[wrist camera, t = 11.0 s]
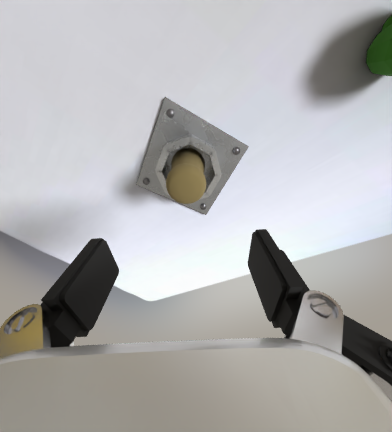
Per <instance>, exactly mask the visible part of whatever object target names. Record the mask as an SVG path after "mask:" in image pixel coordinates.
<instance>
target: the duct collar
mask: <svg viewBox="0 0 392 432" xmlns="http://www.w3.org/2000/svg"><path fill="white" fill-rule="evenodd" d="M248 147H249V146H247V145H245V144H244V143H242V142H240V141H238V140H237V139H235V138H233V137H232V136H230V135H228V134H227V133H225V132H223V131H222V130H220V129H218V128H217V127H215V126H213V125H211V124H210V123H208V122H206V121H205V120H203V119H201V118H200V117H198V116H196V115H195V114H193V113H191V112H190V111H188V110H186V109H185V108H183V107H181V106H179V105H178V104H176V103H174V102H173V101H171V100H169V99H168V98H166V97H165V99H164V102H163V105H162V108H161V111H160V114H159V117H158V120H157V123H156V126H155V129H154V132H153V135H152V138H151V141H150V144H149V147H148V150H147V153H146V157H145V160H144V163H143V166H142V169H141V172H140V175H139V178H138V181H137V184H136V185H138V186H140V187H143V188H145V189H147V190H150V191H152V192H154V193H157V194H159V195H161V196H164V197H166V198H168V199H171V200H173V201H175V200H174V199H172V198H171V196H170V195H169V194H168V191H167V188H166V179H167V176H168V173H169V172H170V171H171V161H172V158H173V156H174V155H175V153H176V152H177V151H179V150H180V149H183V148H193V149H195V150H197V151H198V152H199V153H200V154H201V155H202V156H203V158H204V161H205V170H204V176H205V179H206V190H205V192H204V194H203V196H202V197H201V198H200V199H199V200H198V201H196V202H194V203H191V204H182V205H184V206H187V207H189V208H191V209H194V210H196V211H198V212H201V213H203V214H205V215H206V214H207V213H208V211H209V209H210V208H211V206H212V205H213V203H214V201H215V200H216V198H217V196H218V195H219V193H220V192H221V190H222V188H223V187H224V185H225V184H226V182H227V180H228V179H229V177H230V176H231V174H232V172H233V171H234V169H235V168H236V166H237V164H238V163H239V161H240V160H241V158H242V156H243V155H244V153H245V152H246V150H247V148H248ZM175 202H176V201H175ZM177 203H179V202H177ZM180 204H181V203H180Z"/></svg>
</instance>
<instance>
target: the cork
mask: <svg viewBox="0 0 392 432" xmlns="http://www.w3.org/2000/svg"><path fill="white" fill-rule="evenodd" d="M204 170H205V161H204V158H203V156H202V155H201V154H200V153H199V152H198V151H197V150H195V149H193V148H183V149H180V150H179V151H177V152H176V153H175V155H174V156H173V158H172V161H171V171H170V172H169V173H168V176H167V179H166V188H167V191H168V194H169V195H170V196H171V198H172V199H174V200H175V201H176V202H179V203H181V204H191V203H194V202H196V201H198V200H199V199H200V198H201V197H202V196H203V194H204V192H205V190H206V179H205V176H204Z"/></svg>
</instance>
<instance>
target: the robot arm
mask: <svg viewBox="0 0 392 432" xmlns="http://www.w3.org/2000/svg"><path fill="white" fill-rule="evenodd" d="M248 267H249V270H250V273H251V275H252V278H253V281H254V283H255V286H256V288H257V291H258V294H259V297H260V299H261V302H262V305H263V308H264V310H265V313H266V316H267V318H268V320H269V321H270V322H271V321H272V323H273V326H274V328H279V327H280V328H281V329H282V331H283V333H284V334H285V337H284V338H247V339H246V338H244V339H216V340H191V341H170V342H169V341H168V342H146V343H125V344H106V345H86V346H74V343H73V341H74V339H75V337H86V336H87V335H88V332H89V331H90V330H91V329H92V328H93V327H94V325H95V323H96V321H97V319H98V316H99V314H100V312H101V310H102V308H103V306H104V303H105V302H106V299H107V297H108V295H109V293H110V291H111V289H112V287H113V285H114V282H115V280H116V278H117V276H118V274H119V269H118V266H117V264H116V262H115V260H114V257H113V255H112V253H111V251H110V249H109V246H108V244H107V242H106V241H105V240H103V239H102V238H99V239H91V240H90V241H89V242H88V244H87V245H86V246H85V247H84V248H83V250H82V251H81V252H80V253H79V254H78V256H77V257H76V258H75V259H74V261H73V262H72V263H71V264H70V265H69V267H68V268H67V269H66V270H65V272H64V273H63V274H62V275H61V276H60V278H59V279H58V280H57V281H56V282H55V284H54V285H53V286H52V287H51V288H50V290H49V291H48V292H47V293H46V295H45V296H44V297H43V298H42V301H43V303H42V304H41V305H38V304H32V305H28V306H26V307H23V308H21V309H20V310H18V311H16V312H15V313H14V314H13V315H11V316H10V317H9V318H8V319H7V320H6V321H5V322H4V323H3V325H2V326H1V328H0V432H392V341H390V340H389V339H387V338H385V337H383V336H381V335H380V334H378V333H376V332H374V331H372V330H370V329H369V328H367V327H365V326H363V325H361V324H359V323H358V322H356V321H354V320H352V319H350V318H349V317H347V316H345V315H343V311H342V309H341V307H340V305H339V304H338V303H337V302H336V301H335V300H334V299H333V298H331V297H330V296H328V295H327V294H325V293H322V292H320V291H314V290H312V291H310V290H309V288H308V287H307V285H306V284H305V282H304V281H303V280H302V278H301V277H300V275H299V274H298V272H297V271H296V269H295V268H294V266H293V265H292V263H291V262H290V260H289V259H288V257H287V256H286V254H285V253H284V251H282V250H279V248H278V247H277V245H276V244H275V242H274V241H273V239H272V237H271V236H270V234H269V233H268V231H267V230H266V229H262V230H256V231H255V232H253V234H252V240H251V246H250V253H249V259H248Z"/></svg>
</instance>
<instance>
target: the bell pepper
mask: <svg viewBox="0 0 392 432" xmlns="http://www.w3.org/2000/svg"><path fill="white" fill-rule="evenodd" d="M366 63H367V65H368V67H369V69H370V71H371V72H372V73H374V74H380V75H386V76H392V16H390V17H389V18H388V19H387V21H386V22H385V23H384V25H383V28H382V32H380V33H379V34H378V35H377V36H376V38H375V39H374V41H373V42H372V44H371V45H370V47H369V48H368V50H367V58H366Z"/></svg>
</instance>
